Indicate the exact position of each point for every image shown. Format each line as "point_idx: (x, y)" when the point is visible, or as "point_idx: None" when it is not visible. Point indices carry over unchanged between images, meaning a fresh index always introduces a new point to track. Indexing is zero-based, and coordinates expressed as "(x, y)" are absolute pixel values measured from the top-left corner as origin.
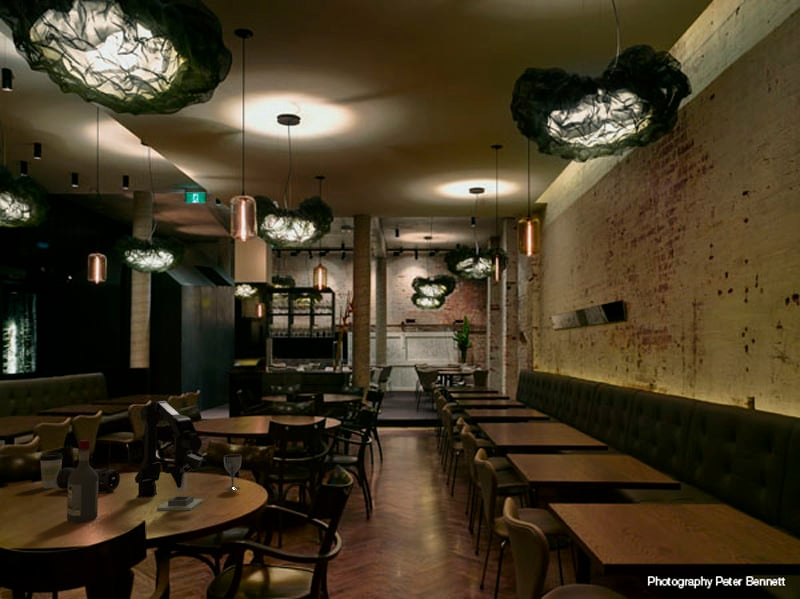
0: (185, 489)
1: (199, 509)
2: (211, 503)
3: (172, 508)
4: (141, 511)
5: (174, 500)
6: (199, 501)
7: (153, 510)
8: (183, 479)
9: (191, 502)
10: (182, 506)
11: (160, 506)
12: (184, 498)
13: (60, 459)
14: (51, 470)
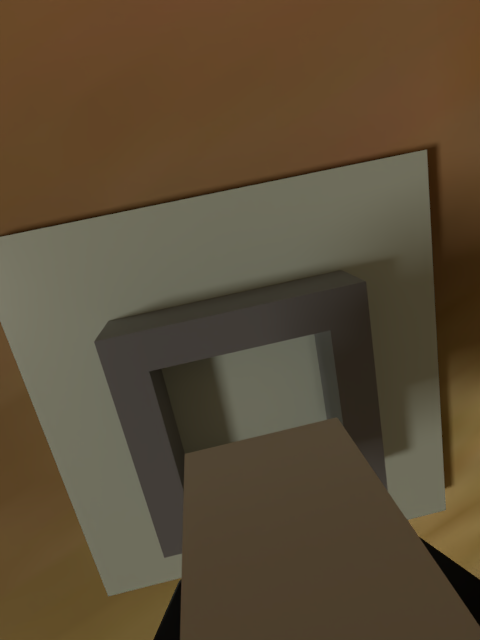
0: (258, 453)
1: (357, 62)
2: (39, 60)
3: (433, 367)
4: (476, 575)
5: (374, 438)
6: (113, 223)
7: (441, 513)
8: None
9: (188, 299)
10: (382, 293)
11: (405, 507)
12: (169, 426)
13: None
14: None
